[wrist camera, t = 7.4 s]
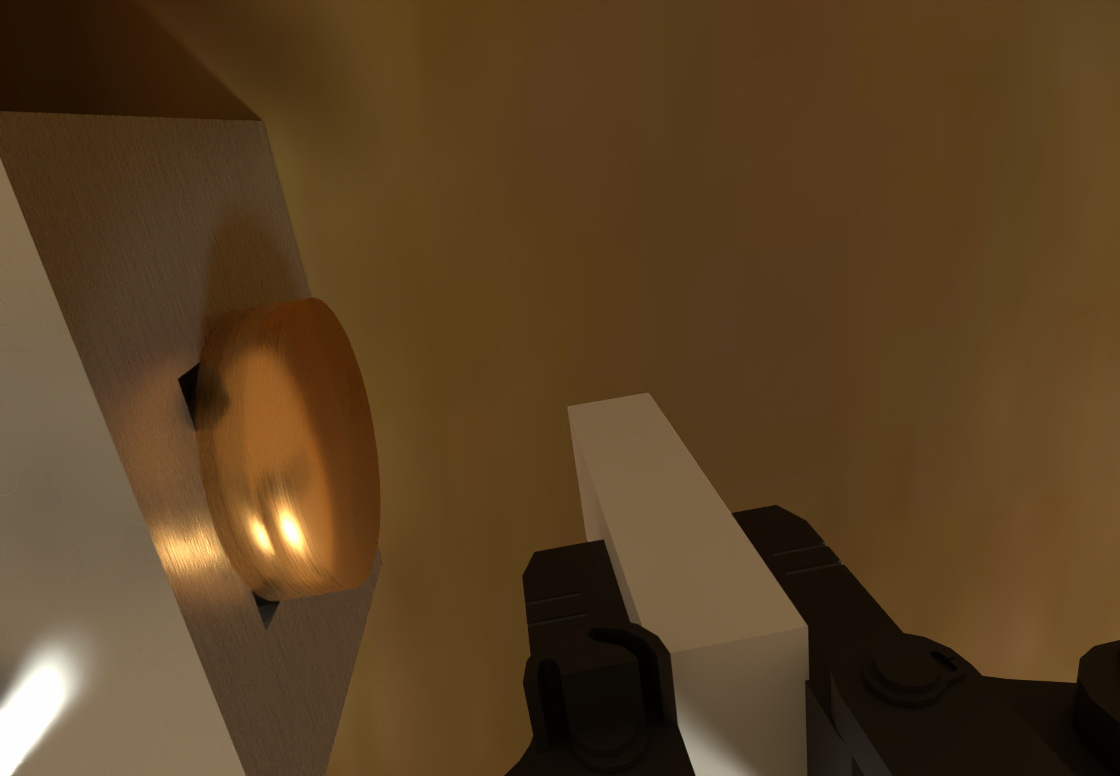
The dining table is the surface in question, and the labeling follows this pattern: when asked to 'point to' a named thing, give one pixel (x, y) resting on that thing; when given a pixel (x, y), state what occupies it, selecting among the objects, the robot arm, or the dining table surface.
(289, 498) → the pin
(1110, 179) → the dining table surface
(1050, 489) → the dining table surface
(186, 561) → the hitch block
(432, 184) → the dining table surface
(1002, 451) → the dining table surface
